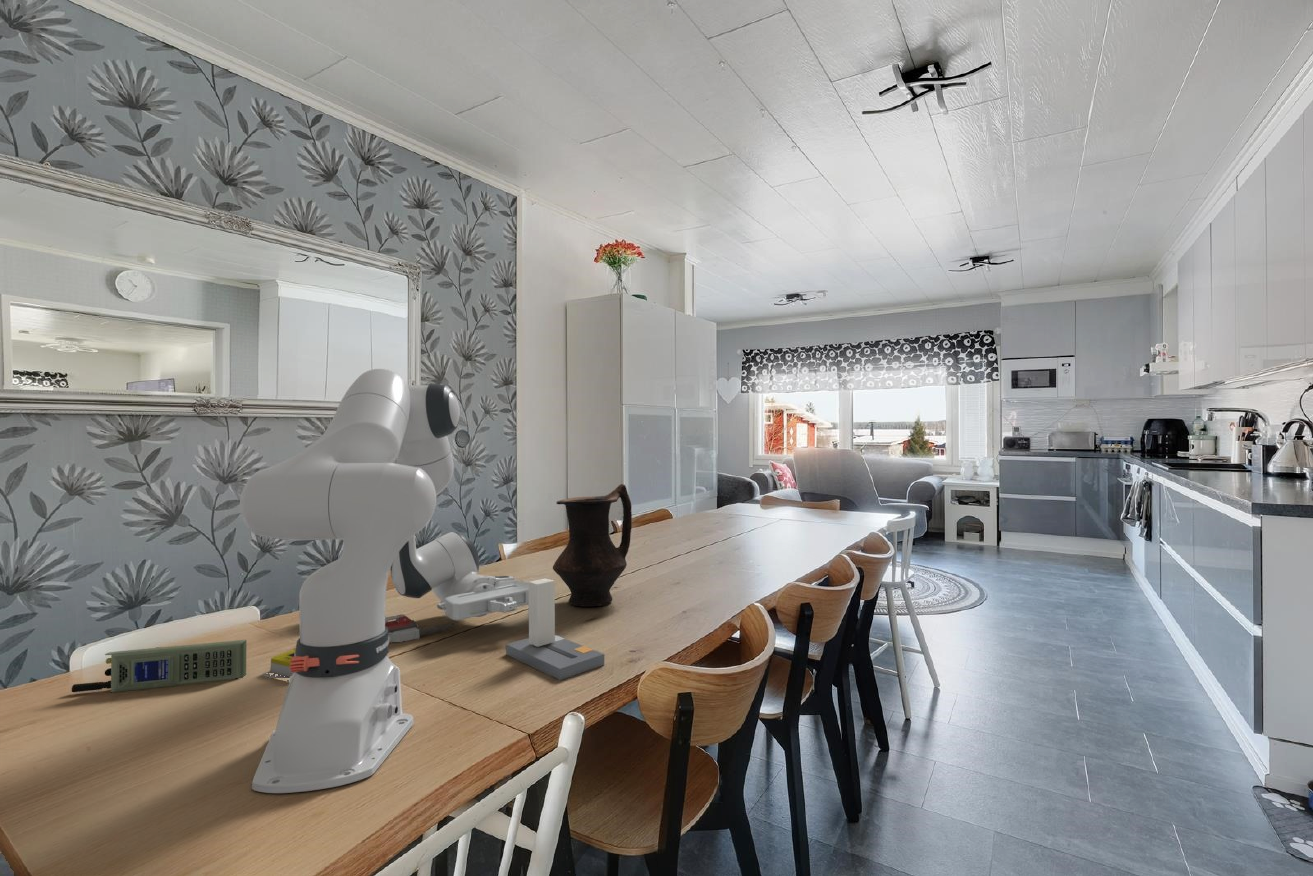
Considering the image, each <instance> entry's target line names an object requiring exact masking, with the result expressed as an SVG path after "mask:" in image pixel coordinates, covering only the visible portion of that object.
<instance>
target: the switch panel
mask: <svg viewBox="0 0 1313 876" xmlns="http://www.w3.org/2000/svg"><path fill="white" fill-rule="evenodd" d="M505 655H507V656H509V657H511V658H513V659H515V660H517V661H519V662H521V663H524V664H526V665H527V666H530V667H532V668H533V669H535V670H538V671H540V672H542V673H545V674H546V675H548V676H551V677H552V678H555V679H557V680H558V681H562V680H565V679H567V678H570V677H573V676H576V675H579V674H582V673H585V672H587V671H591V670H593V669H596V668H599V667H602V666H604V665H605V653H603V652H600V651H597V650H595V649H592V648H590V647H587V646H585V645H583V644H580V643H578V642H574V641H572V640H569V639H567V638H564V637H562V636H559V635H557V634H555V642H552V643H549V644H546V645H542V646H539V647H537V646H535V645H532V644H530V643H529V637H527V638H523V639H520V640H516V641H512V642H509V643H506V644H505Z"/></svg>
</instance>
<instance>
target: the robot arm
mask: <svg viewBox="0 0 1313 876" xmlns="http://www.w3.org/2000/svg"><path fill="white" fill-rule="evenodd" d="M460 415H461V407H460V403H459V400H458V399H457V397H456V394H455V392H454V390H452V389H451V388H450V387H448V385H445V384H439V383H429V384H428V385H425V384H424V385H423V384H421V385H420V384H413V385H412V384H410V385H409V384H407V382H406V381H405V380H404V378H403V377H402V376H400V374H398V373H396V372H394V371H392V370H389V369H384V368H373V369H370V370H367V371H365V372H363V373H362V374H360V375H359V376H358V377H357V378H356V379H355V381H353V382H352V384H351V385H350V387H349V388H348V389H347V390H346V392H345V394H344V395H343V397H342V399H341V400H340V402H339V405H338V407H337V409H336V412H335V413H334V415H333V417H332V419H331V421H330V422H329V425H328V427H327V428H326V430H325V431H324V432H323V434H322V435H321V436H319V438H317V439H316V440H314V442H313V443H311V444H310V445H309V446H307V447H306V448H304V449H303V450H301V451H299V452H297V454H295V455H293V456H292V457H289V458H288V459H285V460H283V461H282V462H279V463H276V464H274V465H271V466H268V467H266V468H263V469H260V470H257V471H256V472H255V473H254V474H252V476H251V477H250V478H249V479H248V480H247V482H246V483H245V485H244V487H243V489H242V491H241V494H240V498H239V511H240V515H241V517H242V518H241V519H242V520H243V523H244V524H245V526H246V527H247V528H248V529H249V531H251V533H253V534H254V535H256V536H259V537H265V538H270V539H277V540H284V541H291V542H296V541H297V542H298V541H300V542H301V541H320V540H321V541H323V540H341V541H342V542H343V549H342V553H341V555H340V558H338V559H336V560H334V561H331V562H330V563H327V564H326V565H323V566H322V567H321V568H318V569H317V570H315V571H313V572H312V573H311V574H310V575H308V577H307V578H306V579H305V580H304V582H303V583H302V584H301V587H300V590H299V593H298V596H299V598H298V600H299V604H298V605H299V607H298V609H299V612H298V614H299V637H298V639H297V640H296V643H295V645H296V646H295V649H296V650H295V649H294V650H295V653H294V657H292V659H291V662H290V671H291V672H292V673H293V672H295V673H294V674H292V676H290V682H289V683H288V686H287V689H286V692H285V695H284V699H283V702H282V706H281V710H280V711H279V715H278V719H277V723H276V727H275V729H274V730H273V731H272V733H271V734H270V737H269V740H268V741H267V744H266V747H265V750H264V752H263V754H262V756H261V759H260V762H259V763H258V766H257V769H256V771H255V774H254V776H253V779H252V783H251V785H252V786H251V790H253V791H255V792H260V793H265V794H266V793H267V794H288V793H300V792H301V793H302V792H310V791H319V790H324V789H330V788H335V787H340V786H344V785H347V784H352V783H355V782H358V781H362V780H364V779H366V778H369V777H370V776H373V774H374V773H376V771H378V769H379V767H380V766H381V765H382V764H383V762H384V761H385V760H386V759H387V757H389V755H390V754H391V752H392V751H393V750H394V749H395V747H396V746H397V745H398V744H399V743H400V741H402V740H403V738H404V737H405V735H406V734H407V733H408V732H409V730H410V729H411V727H412V726H414V723H415V722H414V716H413V715H412V714H410V713H406V712H403V708H402V707H403V706H402V705H403V704H402V685H401V671H400V667H398V666H397V665H396V664H395V663H393V662H392V661H391V659H390V657H389V656H388V654H389V653H390V652H389V651H390V650H389V648H390V647H389V644H390V643H389V636H388V628H387V627H385V617H386V599H387V598H386V596H387V587H388V586H387V585H388V580H389V579H388V578H389V575H390V578H391V582H392V584H393V586H394V588H395V590H396V592H397V593H398V594H399V595H400V596H403V597H406V598H411V599H421V598H422V597H424V596H426V595H427V594H428V593H430V592H432V591H433V592H432V593H433V594H434V595H435V597H436V598H437V599H438V600H439V601H440V602H439V603H437V604H436V608H437V609H439V610H441V611H444V615H445V616H446V617H447V618H449V619H450V620H451V621H463V620H466V619H472V618H481V617H484V616H487V615H488V614H493V613H499V612H501V613H502V614H505V613H509V612H513V611H514V612H515V611H517V609H518V607H523V606H526V605H528V606H529V582H526V581H523V580H519V579H515V577H514V576H512V575H499V576H497V575H495V576H494V575H493V576H491V575H486V574H483V575H482V574H478V573H479V570H480V569H479V568H480V556H479V553H478V549H477V548H476V545H475V544H474V542H473V541H472V539H470V538H469V537H468V536H466V535H464V534H462V533H460V532H457V531H449V532H448V533H446V534H444V535H442V536H439V537H438V538H436V539H433V540H432V541H430V542H428V543H425V544H424V545H422V546H420V547H418V548H417V545H416V544H417V543H416V535H417V534H418V533H419V532H421V531H422V530H423V529H424V528H425V527H426V526H427V525H428V523H429V522H430V521H431V519H432V517H433V516H434V513H435V510H436V507H437V496H439V495H440V494H442V492H444V491H445V489H446V488H447V486H449V484H450V482H451V480H452V478H453V475H454V471H455V467H454V466H455V465H454V458H453V453H452V449H451V448H452V447H451V443H450V441H449V437H448V436H449V435H452V434H453V433H454V432H455V431H456V429H457V428H458V426H459V424H460V423H459V421H460V417H461V416H460ZM395 461H396V463H395Z"/></svg>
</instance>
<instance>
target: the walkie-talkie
mask: <svg viewBox="0 0 1313 876" xmlns="http://www.w3.org/2000/svg"><path fill="white" fill-rule="evenodd" d="M385 627H387V628H388V636H389V642H400V643H404V642H403V641H405V642H408V641H413V639H414V640H419V639H420V636H424V635H425V634H430V633H433V632H434V633H435V632H438V631H439V632H440V631H442V630H444V629H448V628H452V627H455V624H454V623H453V622H450V623H446V624H445V623H444V624H442V625H437V626H433V627H427V628H419V623H417V622H416V621H415V620H414V619H411V618H409V617H408V616H407V615H405V614H396V615H392V616H385Z"/></svg>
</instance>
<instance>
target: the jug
mask: <svg viewBox="0 0 1313 876" xmlns="http://www.w3.org/2000/svg"><path fill="white" fill-rule="evenodd" d="M619 499H620V500H621V505H622V515H623V516H622V525H621V539H620V544H619V546H618V547H616V545H615V544H614V542H613V541H612V539H611V536H610V519H609V518H610V509H611V505H612V504H613V503H615V502H618V500H619ZM556 505H564V506H565V511H566V517H567V518H566V519H567V523H568V532H569V533H568V535H569V537H568V542H567V545H566V546H565V548H564V549H563V551H562V552H561V553H560V554H559V556H558V558H557V559H556V560H555V562H554V563H553V566H552V570H553V572H555V573H556V574H557V575H558V576H559V577H560V579H561V580H562V582H563V583H564V584H565V585H566V586H567V587H568V589H569V591H570V597H569V599H568V603H569V604H570V605H572V606H577V607H598V606H599V607H600V606H605V605H607V604H609V603H611V602H612V601H613V596H612V595H611V591H610V590H611V589H612V587H613V586H614V584H615V583H616V581H617V580H618V579H619V578H620V576H621V574H623V572H624V571H625V569H626V567H627V561H626V557H627V554H628V553H629V548H630V544H631V538H632V537H631V535H632V525H633V524H632V519H633V514H632V502H631V499H630V496H629V493H628V489H627V486H626V484H624V483H621V484H619V485H618V486H617V487H615V488H614V490H612V491H611V492H609V493H608V494H605V495H598V496H595V495H594V496H581V497H580V496H576V497H570V498H569V497H568V498H566V499H559V500H558V501H556Z"/></svg>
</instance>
